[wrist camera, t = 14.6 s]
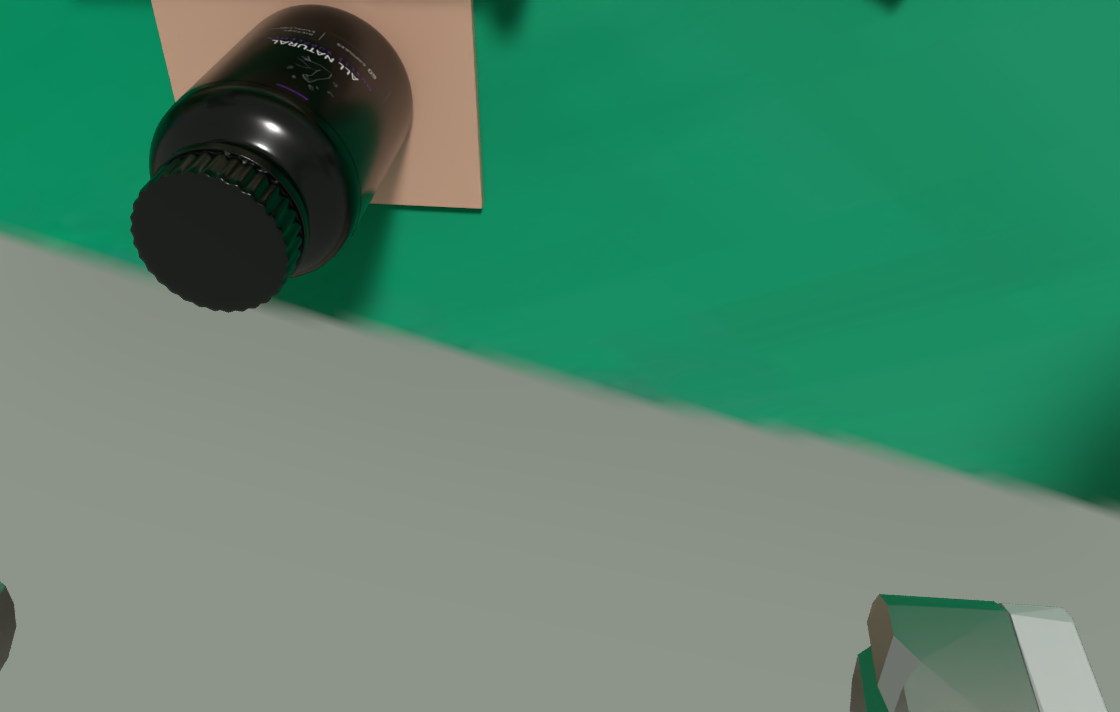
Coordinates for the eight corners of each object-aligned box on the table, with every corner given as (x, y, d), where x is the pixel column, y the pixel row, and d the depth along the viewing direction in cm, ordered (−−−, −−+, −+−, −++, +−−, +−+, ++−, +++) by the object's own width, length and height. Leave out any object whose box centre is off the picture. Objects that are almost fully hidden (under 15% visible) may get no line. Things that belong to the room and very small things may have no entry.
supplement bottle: (386, -18, 37) (280, 123, 27) (436, 156, 41) (359, 331, 31) (212, 13, 38) (53, 157, 29) (276, 178, 42) (155, 353, 32)
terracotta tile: (470, -49, 36) (468, -45, 36) (484, 202, 42) (482, 208, 42) (144, -58, 37) (138, -54, 37) (202, 189, 43) (197, 195, 43)
